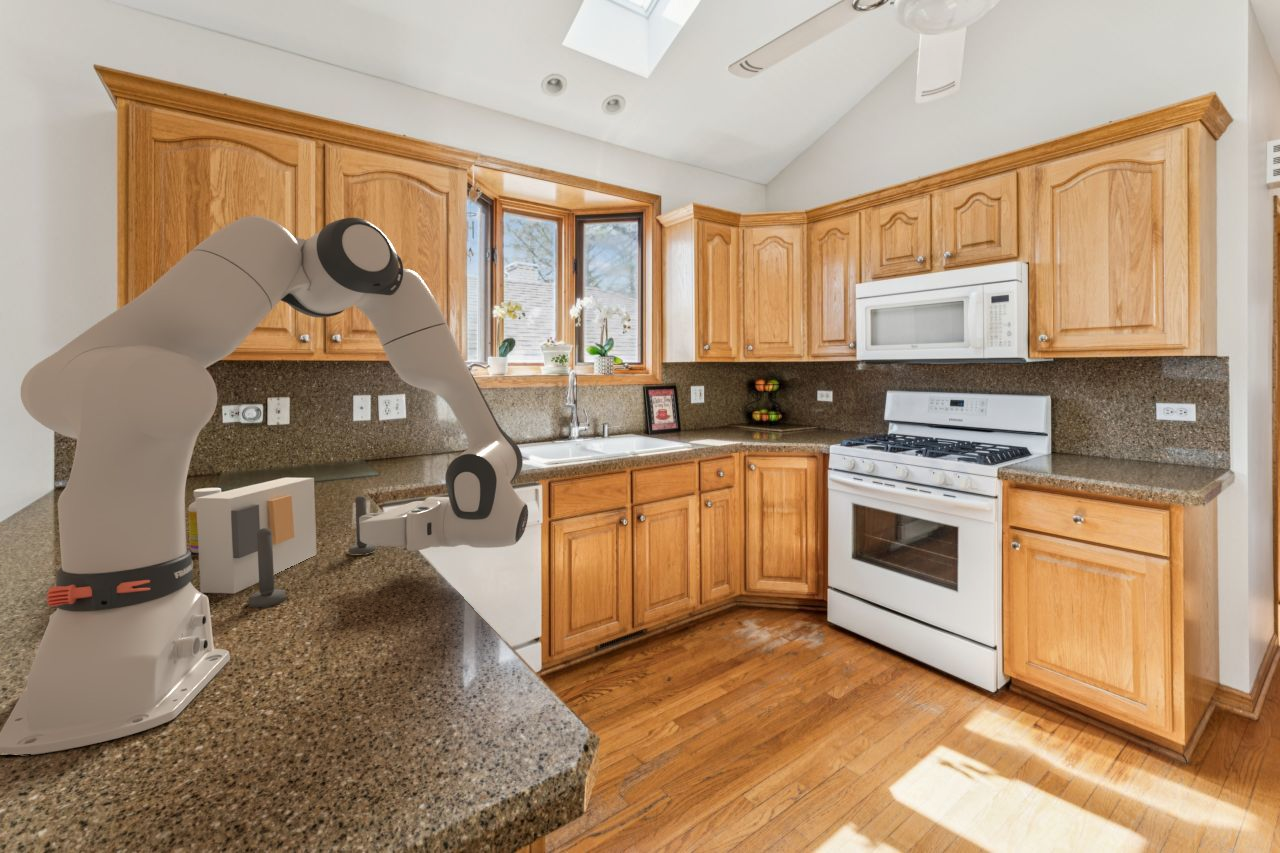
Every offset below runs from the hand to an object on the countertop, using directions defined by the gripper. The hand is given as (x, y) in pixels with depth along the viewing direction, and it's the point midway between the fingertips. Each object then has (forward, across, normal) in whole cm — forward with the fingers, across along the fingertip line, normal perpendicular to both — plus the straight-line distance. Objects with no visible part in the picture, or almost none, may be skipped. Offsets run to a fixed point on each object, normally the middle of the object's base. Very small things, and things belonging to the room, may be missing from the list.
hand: (363, 519), depth 107 cm
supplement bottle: (+42, -14, +11) cm, 45 cm away
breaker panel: (+20, 0, +11) cm, 22 cm away
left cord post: (+8, +14, +11) cm, 19 cm away
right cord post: (+9, -14, +10) cm, 20 cm away
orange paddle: (+16, 0, +4) cm, 16 cm away
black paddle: (+16, +8, +5) cm, 19 cm away
